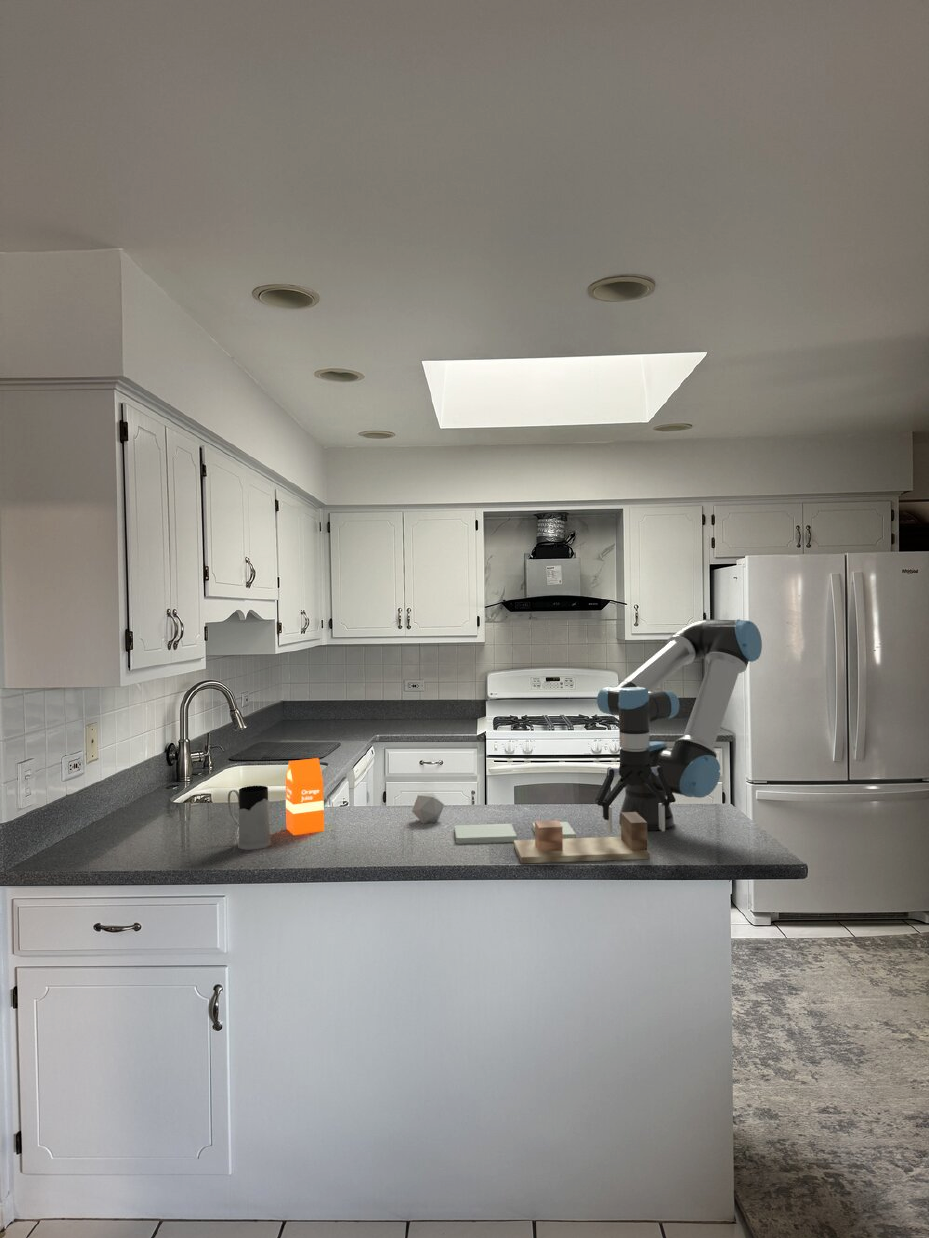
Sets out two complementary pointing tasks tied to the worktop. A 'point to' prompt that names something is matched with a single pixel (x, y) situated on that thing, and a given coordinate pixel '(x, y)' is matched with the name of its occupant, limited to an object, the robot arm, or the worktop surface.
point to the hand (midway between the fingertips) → (635, 831)
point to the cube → (548, 835)
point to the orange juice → (304, 797)
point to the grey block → (427, 808)
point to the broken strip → (496, 833)
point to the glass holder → (252, 817)
